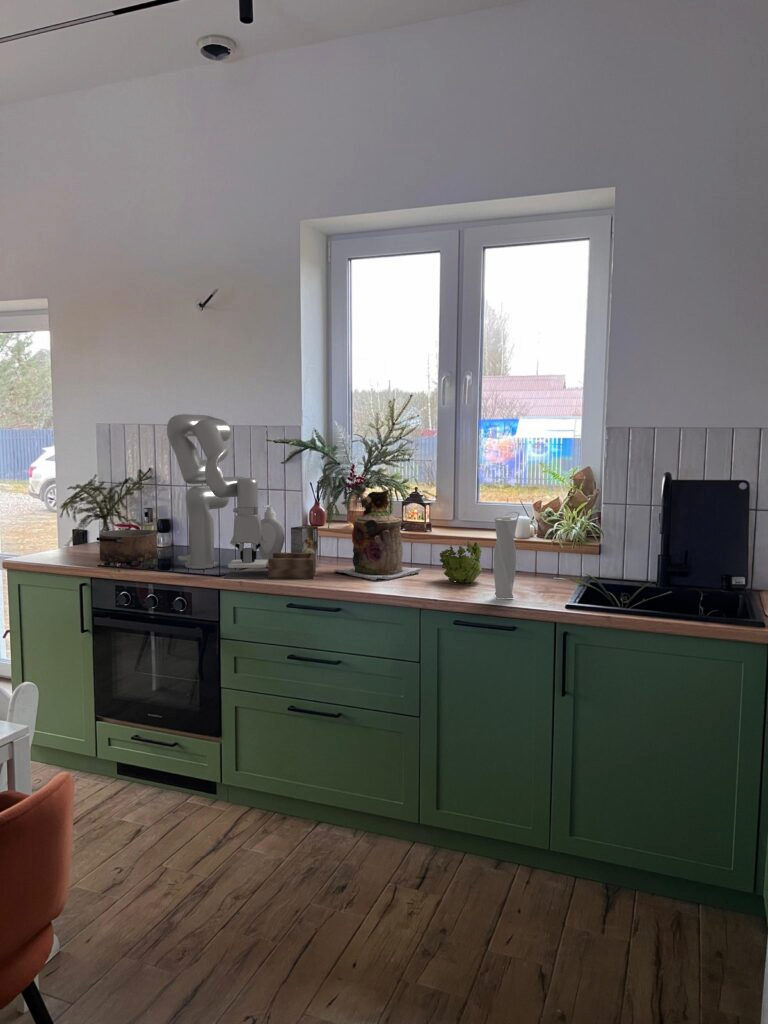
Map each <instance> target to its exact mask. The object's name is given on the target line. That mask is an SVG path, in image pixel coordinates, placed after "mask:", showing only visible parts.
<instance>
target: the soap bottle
mask: <svg viewBox="0 0 768 1024" xmlns="http://www.w3.org/2000/svg"><path fill="white" fill-rule="evenodd" d="M273 507H274V505H273V504H266V505H263V506H262V508H267V509H266V511H265V512H264V514H263V515H264V518H263V519H262V518H261V525H262V535H263V537H264V539H265V541H266V544H264V545H262V546H260V547H259V548H258V551H259V554H260V559H259V560H268V559H269V558H273V553H282V550H283V546H284V544H285V538H286V537H285V530H284V525H283V524H282V522H281V521H280V520H278V519H277V517H276V516H277V515H276V513H277V512H275V510H274V509H273ZM260 542H261V541H260ZM260 542H258V543H257V544H259V543H260ZM267 567H269V562H268V564H267V565H266V566H265V568H267Z"/></svg>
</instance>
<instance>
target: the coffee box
mask: <svg viewBox="0 0 768 1024" xmlns="http://www.w3.org/2000/svg"><path fill="white" fill-rule="evenodd" d="M318 528H319V526H315V525H301V526H293V527H291V526H290V553H316V568H317V566H318V567H319V552H318V551H319V544H318V543H319V539H318V538H319V537H318V536H319V534H318V533H319V529H318Z"/></svg>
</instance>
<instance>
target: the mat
mask: <svg viewBox="0 0 768 1024" xmlns="http://www.w3.org/2000/svg"><path fill="white" fill-rule="evenodd" d="M268 577H269V569H267V570H263V569H261V570H259V569H258V570H257V569H254V570H253V569H251V570H248V569H246V570H245V569H238V570H237V569H231V570H229V571H228V572H227V574H226V575H225V576H224V577H223V579H224V580H225V579H228V580H231V579H234V580H238V579H240V580H241V579H242V580H243V579H245V580H266V579H267V578H268Z"/></svg>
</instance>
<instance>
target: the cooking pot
mask: <svg viewBox="0 0 768 1024" xmlns="http://www.w3.org/2000/svg"><path fill="white" fill-rule="evenodd" d="M158 533H159V532H158V530H155V529H116V530H114V529H113V530H105V531H102V532H100V533H98V536H99V537H96V541H99V559H100V560H101V561H103V562H106V563H115V562H130V563H133V562H132V561H142V562H144V561H143V560H148V561H151V560H150V559H153V560H155V559H156V558H157V557H158V555H157V554H158V550H157V549H158V545H157V544H158V543H157V540H158V539H157V538H158V537H157V536H158V535H157V534H158ZM154 558H155V559H154Z"/></svg>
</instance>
